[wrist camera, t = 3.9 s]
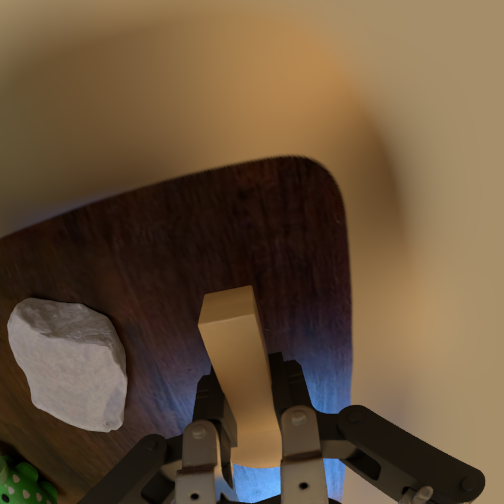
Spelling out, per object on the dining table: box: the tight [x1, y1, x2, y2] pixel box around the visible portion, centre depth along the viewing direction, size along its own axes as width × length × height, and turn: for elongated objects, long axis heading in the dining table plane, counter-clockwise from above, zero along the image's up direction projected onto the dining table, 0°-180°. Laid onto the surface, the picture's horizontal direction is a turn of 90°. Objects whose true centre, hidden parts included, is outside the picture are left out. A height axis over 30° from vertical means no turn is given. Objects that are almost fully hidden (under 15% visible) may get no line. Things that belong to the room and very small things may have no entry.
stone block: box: [7, 298, 127, 432], centre depth 19 cm, size 12×5×10 cm
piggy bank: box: [0, 455, 58, 504], centre depth 22 cm, size 14×18×15 cm
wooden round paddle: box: [198, 285, 282, 468], centre depth 13 cm, size 11×5×2 cm, turn 12°
